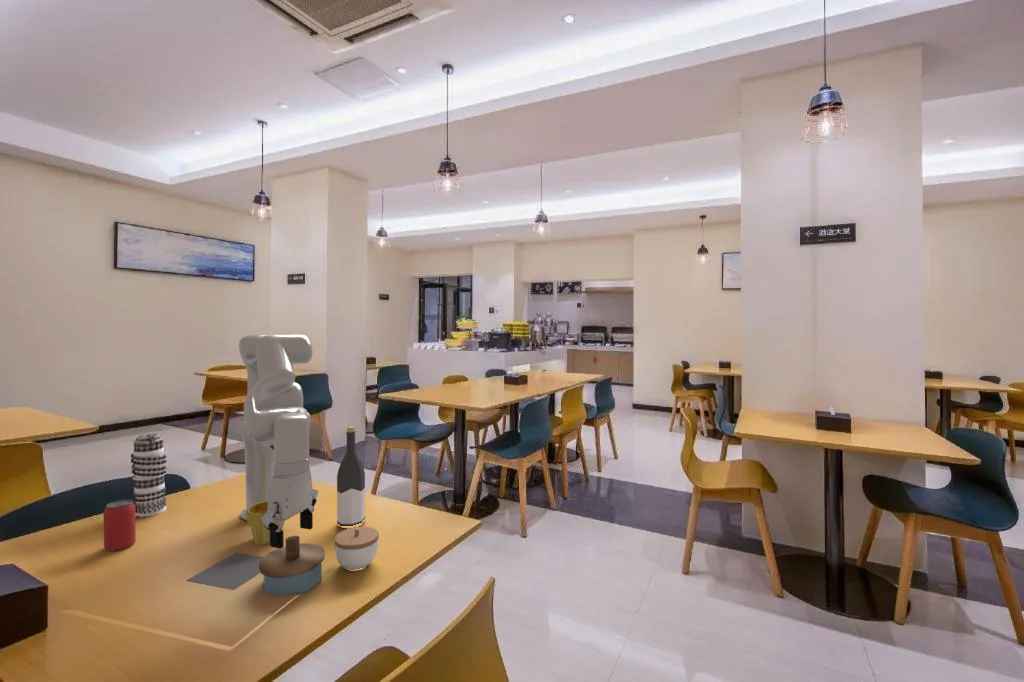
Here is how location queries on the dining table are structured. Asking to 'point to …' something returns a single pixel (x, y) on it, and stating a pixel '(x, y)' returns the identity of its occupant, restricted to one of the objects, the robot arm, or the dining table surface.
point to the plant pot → (259, 522)
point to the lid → (291, 559)
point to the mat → (230, 571)
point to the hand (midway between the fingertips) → (292, 537)
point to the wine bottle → (350, 486)
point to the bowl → (293, 582)
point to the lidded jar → (356, 547)
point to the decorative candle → (149, 475)
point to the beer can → (119, 525)
